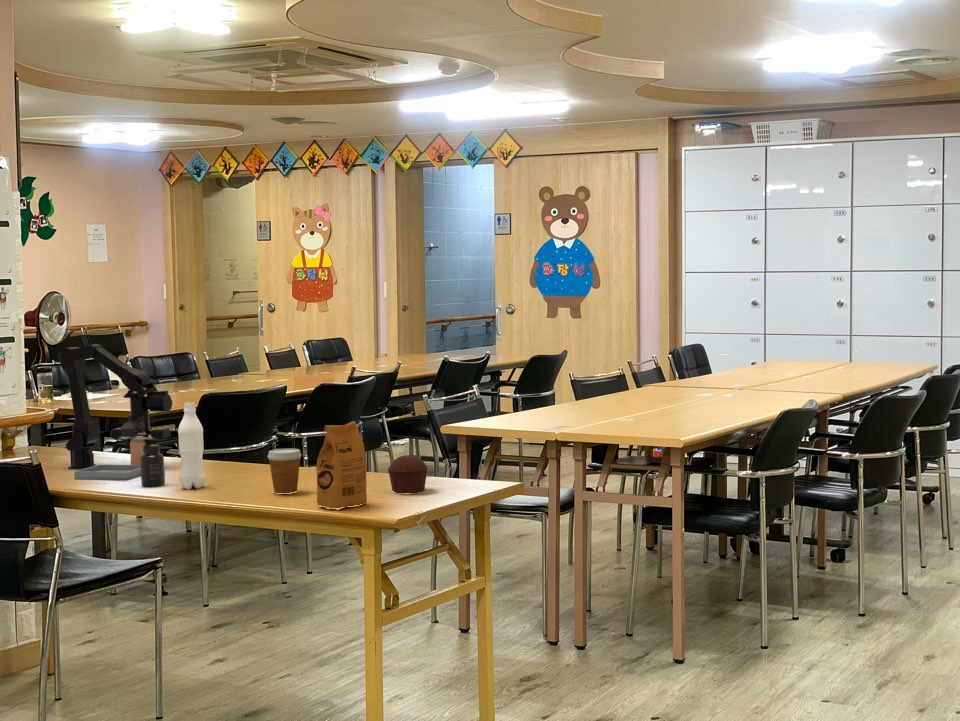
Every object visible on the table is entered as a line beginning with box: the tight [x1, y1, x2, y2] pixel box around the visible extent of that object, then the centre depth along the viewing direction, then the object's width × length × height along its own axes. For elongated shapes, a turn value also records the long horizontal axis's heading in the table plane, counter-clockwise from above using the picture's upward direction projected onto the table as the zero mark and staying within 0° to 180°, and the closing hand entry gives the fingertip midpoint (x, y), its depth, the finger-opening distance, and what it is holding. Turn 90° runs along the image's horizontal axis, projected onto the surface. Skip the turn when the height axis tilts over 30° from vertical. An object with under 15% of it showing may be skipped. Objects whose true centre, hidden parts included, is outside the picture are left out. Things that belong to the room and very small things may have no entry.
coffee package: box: [315, 421, 368, 508], centre depth 311 cm, size 10×12×22 cm
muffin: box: [387, 454, 429, 494], centre depth 331 cm, size 12×11×10 cm
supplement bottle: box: [140, 444, 166, 488], centre depth 350 cm, size 7×7×12 cm
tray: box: [73, 463, 141, 481], centre depth 369 cm, size 18×14×2 cm
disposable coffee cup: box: [267, 448, 302, 493], centre depth 333 cm, size 10×10×12 cm
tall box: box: [129, 436, 149, 465], centre depth 382 cm, size 5×5×10 cm
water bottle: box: [177, 401, 206, 490], centre depth 344 cm, size 7×7×25 cm
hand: (141, 459), depth 382 cm, fingers closed on tall box, 5 cm apart
